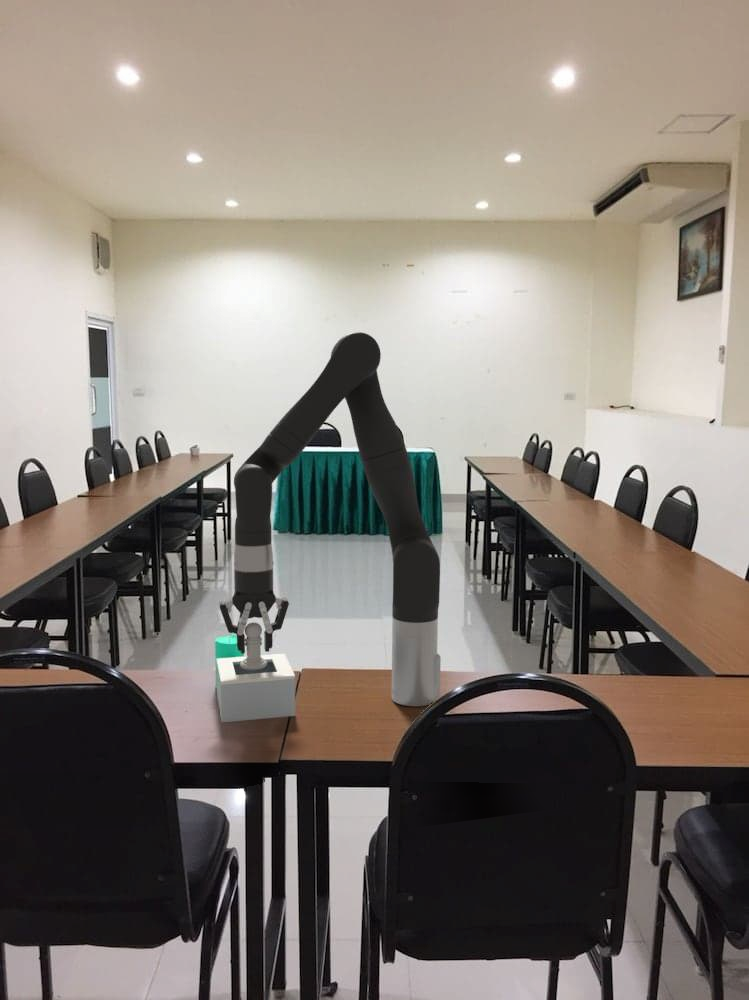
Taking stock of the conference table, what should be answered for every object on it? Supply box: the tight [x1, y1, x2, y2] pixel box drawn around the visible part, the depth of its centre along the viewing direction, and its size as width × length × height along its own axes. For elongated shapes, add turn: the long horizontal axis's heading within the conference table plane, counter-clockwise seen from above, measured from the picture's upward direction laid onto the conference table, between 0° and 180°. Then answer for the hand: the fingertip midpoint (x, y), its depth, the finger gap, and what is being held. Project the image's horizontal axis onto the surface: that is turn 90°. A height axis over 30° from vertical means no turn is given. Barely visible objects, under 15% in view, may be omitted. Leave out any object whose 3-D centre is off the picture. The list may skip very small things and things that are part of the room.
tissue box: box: [216, 653, 296, 723], centre depth 154 cm, size 14×14×8 cm
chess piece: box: [240, 621, 267, 670], centre depth 153 cm, size 5×5×9 cm
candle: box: [214, 632, 245, 689], centre depth 164 cm, size 6×6×12 cm
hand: (254, 651), depth 153 cm, fingers open, 4 cm apart
